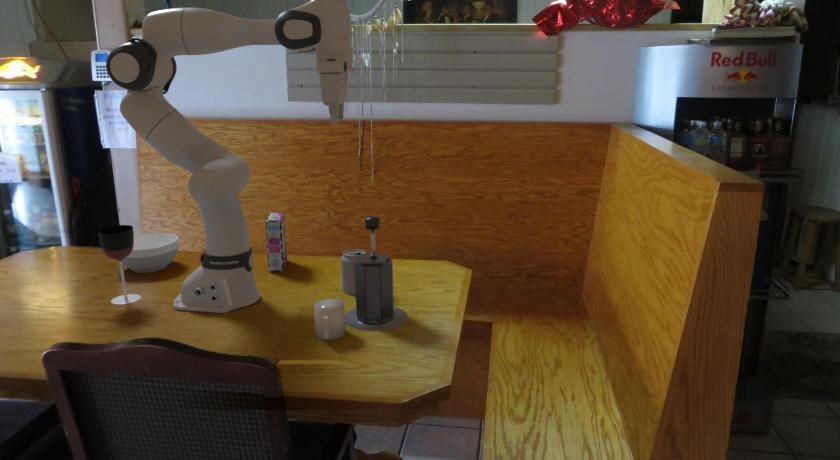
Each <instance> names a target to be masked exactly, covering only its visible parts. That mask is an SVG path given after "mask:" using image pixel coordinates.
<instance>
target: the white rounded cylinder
mask: <svg viewBox="0 0 840 460" xmlns="http://www.w3.org/2000/svg"><path fill="white" fill-rule="evenodd" d="M344 315H345V302H344V301H342V300H340V299H335V298H326V299H321V300H318V301H316V302H315V303H313V316H314V317H313V318H314V319H313V320H314V334H315V336H316V337H317V338H318V339H320V340H335V339H340V338H341V337H343V336H344V335H346V334H345V333H346V324H345V316H344Z"/></svg>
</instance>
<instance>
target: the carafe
mask: <svg viewBox="0 0 840 460" xmlns="http://www.w3.org/2000/svg"><path fill="white" fill-rule="evenodd" d="M393 261H394V260H393V258H392V257H389V253H376V259H372V256H371V253H365V254H361V257H360V258H357V259H356V261H355V288H356V295H355V308H356V312H357V320H358V321H359V322H361V323H364V324H369V325H379V324H384V323H387V322H390V321H391V320H392V319H393V318H394V307H395V306H394V305H395V303H394V273H393V271H394V270H393V269H394V267H393V266H394V265H393V264H394V263H393ZM366 265H379V266H366Z"/></svg>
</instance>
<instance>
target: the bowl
mask: <svg viewBox="0 0 840 460" xmlns="http://www.w3.org/2000/svg"><path fill="white" fill-rule="evenodd" d="M179 246H180V238H179V236H178V235H177V234H174V233H169V232H149V233H141V234H134V244H133V250H132V252H131V253H130V255H128V256H127V257H126V258H124V259H123V260H122V265H123V267H125V268H127V269H129V270H130V271H132V272H134V273H137V274H143V273H144V274H146V273H149V274H150V273H155V272H158V271H162V270H164V269H166V268H168V267H169V265H170V264H171V263H172V262H173V261H174V260H175V258H176V256H177V255H178V253H179Z"/></svg>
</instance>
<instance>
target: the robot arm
mask: <svg viewBox="0 0 840 460" xmlns="http://www.w3.org/2000/svg"><path fill="white" fill-rule="evenodd" d="M350 11H351V10H350V7H349V4H348V2H347V1H346V0H309V1H308V2H306V3H304V4H302V5H300V6H297V7H293V8H291V9H290V8H289V9H287V10H285V11H283V12H281V13H280V14H279V15H278V16H277V17H276V19H271V18H270V19H269V18H268V19H267V18H265V19H263V18H262V19H257V18H256V19H255V18H254V19H252V18H251V19H250V18H243V17H239V16H234V15H232V14H229V13H225V12H223V11H218V10H215V9H214V10H213V9H208V8H202V7H172V8H164V9H159V10H155V11H151V12H150V13H148V14H147V15H146V16H145V17H144V18H143V20H142V24H141V31H142V32H141V34H142V35H141V37H137V36H133V37H132V38H130V39H128V40H126V41H125V42H124V43H122V44H121V45H118V46H117V47H116V48H114V49H113V50H112V51H111V52H109V54H108V56H107V58H106V61H105V68H106V72H107V73H106V74H107V75H108V76H109V78H110V79H111V81H112V82H114V84H116V85H117V87H120V88H123V89H125V90H127V91H126V94H124V96H123V97H122V99H121V101H120V104H119V111H120V114H121V116H122V117H123V118H124V119H125V121H126V122H127V123H128V125H130V127H131V128H132V129H133V130H134V131H135V133H136V134H138V135H139V136H140V137H141V138H142V139H143V140H144V141H145V142H146V143H147V144H148V145H150V146H151V147H152V148H153V149H154V150H155V151H156V152H158V154H160V155H161V156H162V157H163V158H165V159H166V161H167V162H169V163H170V164H172V165H174V166H177V167H179V168H181V169H183V170H185V171H187V172H189V173H190V174H191V176H190V177H189V179H188V184H187V187H188V193H189V194H190V197H192V199H193V201H195V202H196V205H197V209H198V211H199V215H200V217H201V220H202V224H203V229H204V238H205V249H203V251H202V253H201V254H200V255H199V257H198V262H199V263H200V264H201V265H199V266H198V267H197V268H196V269H194V270H193V271H192V272H191V273H190V274H189V275H188V276H187V277H186V278H185V279H184V280H183V282H182V285H181V290H180V293H179V294H178V295H177V296H176V297H175V299H174V300H173V303H172V307H173V309H174V310H176V311H179V310H180V311H192V312H201V313H202V312H206V313H215V314H216V313H218V314H219V313H220V314H225V313H229V312H230V311H233V310H237V309H240V308H243V307H244V308H245V307H247V306H250V305H253V304H255V303H256V302H257V301H259V300H260V298H261V294H260V292H259V290H258V289H259V288H258V286H257V283H256V280H255V275H254V270H253V268H254V256H253V252H252V247H251V246H250V236H249V235H250V234H249V223H248V219H247V217H246V216H245V214H244V211H243V208H242V205H241V201H240V193H241V192H243V191H244V190H245V188H247V186H248V184H249V182H250V177H251V167H250V165H249V163H248V161H246V159H244V158H243V157H242V156H241V155H237V154H235V153H233V152H232V151H230V150H229V149H228V148H226V147H224V146H223V145H222V144H220V143H218V142H217V141H216V140H215V139H212V138H211V137H209V136H208V135H206V134H205V133H204V132H203V131H201V130H200V129H199V128H198V127H196V125H194V124H193V123H192V122H191V120H188V118H186V117H185V116H184V115H183V114H182V113H181V112H180V111H179V110H177V109H176V108H175V107H174V106H173V105H172V104H171V102H169V101H168V100H167V99H166V98H165V96H164V95H165V94H167V93H168V92H169V89H170V87H171V84H172V82H173V81H174V79H175V76H176V74H177V69H178V68H177V61H176V59H175V57H177V56H204V55H211V54H217V53H221V52H226V51H229V50H233V49H237V48H241V47H248V46H274V45H275V46H282V47H284V48H285V49H287V50H290V51H292V52H293V51H294V52H301V53H312V52H314V51H315V55H316V56H315V58H316V61H315V62H316V74H319V82H320V83H319V84H320V85H319V86H320V91H321V99H322V103H323V105H324V106H326V107H327V106H328V112H329V113H328V114H329V117H330V123H331V124H334V125H335V124H336V125H337V124H339V122H340V121H342V120H344V111H345V102H346V101H348V99H349V87H348V86H349V85H348V79H349V72H350V73H352V72H354V63H353V59H354V58H353V48H352V44H351V38H352V33H353V32H352V30H353V29H352V19H351V13H350Z"/></svg>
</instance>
